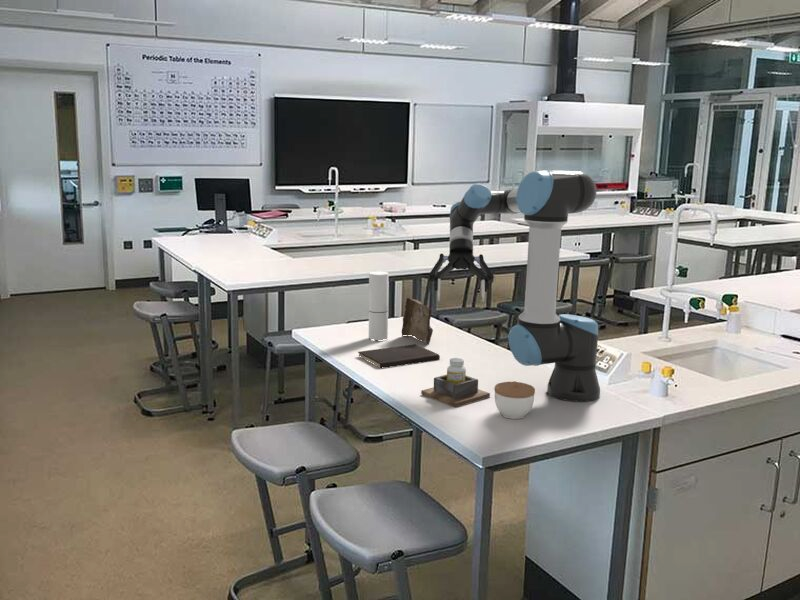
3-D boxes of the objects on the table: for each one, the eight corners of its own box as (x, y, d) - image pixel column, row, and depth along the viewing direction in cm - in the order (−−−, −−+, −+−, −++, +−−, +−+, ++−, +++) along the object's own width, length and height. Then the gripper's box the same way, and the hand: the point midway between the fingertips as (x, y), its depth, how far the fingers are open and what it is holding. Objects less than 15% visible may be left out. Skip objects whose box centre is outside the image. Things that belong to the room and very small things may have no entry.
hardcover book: (357, 358, 254) (357, 351, 253) (415, 350, 265) (415, 344, 265) (380, 370, 240) (380, 363, 240) (439, 361, 252) (439, 354, 251)
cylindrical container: (388, 336, 281) (389, 271, 276) (386, 341, 274) (387, 275, 269) (370, 336, 282) (370, 271, 277) (367, 340, 275) (367, 274, 270)
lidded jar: (541, 415, 200) (543, 381, 198) (519, 425, 192) (521, 390, 190) (507, 405, 207) (509, 373, 205) (485, 415, 199) (486, 381, 197)
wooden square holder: (489, 397, 214) (490, 379, 213) (455, 407, 205) (456, 389, 204) (455, 385, 224) (456, 368, 223) (421, 394, 215) (421, 377, 214)
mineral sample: (400, 336, 282) (401, 297, 279) (409, 335, 284) (410, 296, 281) (426, 346, 268) (427, 305, 265) (435, 345, 270) (436, 304, 267)
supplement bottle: (457, 396, 210) (458, 363, 209) (442, 391, 214) (443, 359, 212) (468, 391, 214) (469, 359, 213) (453, 387, 218) (454, 356, 216)
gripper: (499, 252, 241) (500, 306, 229) (422, 250, 242) (420, 304, 230) (501, 237, 234) (503, 293, 223) (422, 236, 236) (420, 291, 224)
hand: (461, 299), depth 226 cm, fingers open, 13 cm apart
